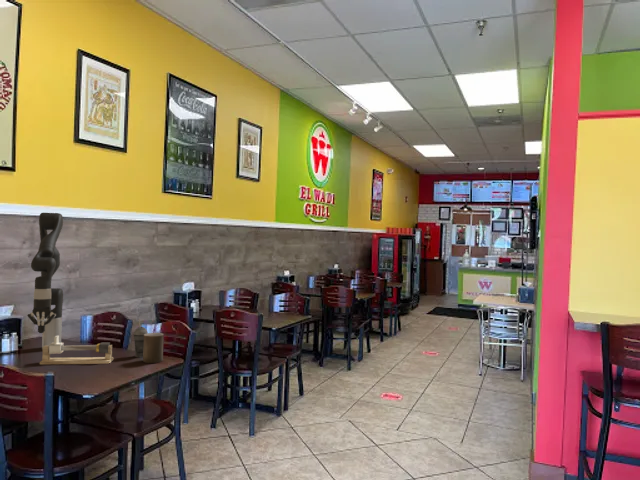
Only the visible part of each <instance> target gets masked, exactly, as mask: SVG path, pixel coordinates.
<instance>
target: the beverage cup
mask: <svg viewBox="0 0 640 480" xmlns="http://www.w3.org/2000/svg"><path fill="white" fill-rule="evenodd" d="M147 333H148V329H146V328H145V327H144V326H141V319H140V318H138V327H137V328H136V329H135V330H134V331H133V339H134V341H133V342H134V353H135V358H143V347H144V334H147Z"/></svg>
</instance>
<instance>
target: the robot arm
mask: <svg viewBox="0 0 640 480" xmlns="http://www.w3.org/2000/svg"><path fill="white" fill-rule="evenodd" d="M38 224H39V237H40V242H39V245H38V251H37V253H36V254H35V255H34V257H33V259H32V260H31V263H30V267H31V269H32V270H33V271H34V272H38V273H39V272H40V276H37V277H35V279H34V291H33V309H32V311H31V312H30V313H29V314H27V317H28V319H29V320H30V321H31V323H32V324H33V325H37V332H38V333H39V334H42V336H41V339H42V340H41V350H42V351H43V346H49V344H51V343H54V337H55V336H59V342H62V328H63V327H62V325H63V324H62V323H63V322H62V321H63V318H62V317H63V302H64V290H63V289H62V288H57V287H55V288H54V287H53V288H52V278H53V276H54V275H55V274H56V272H57V271H58V270H59V268H60V265H61V260H60V259H61V254H60V252H59V249H58V248H57V247H56V244H57V241H58V239H59V237H60V235H61V232H62V230H63V225H64V217H63V214H61V213H60V212H59V213H58V212H41V213H40V214H39V216H38ZM48 231H50V232H49V233H48ZM52 306H54V308H52Z"/></svg>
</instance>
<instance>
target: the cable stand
mask: <svg viewBox="0 0 640 480" xmlns="http://www.w3.org/2000/svg"><path fill="white" fill-rule="evenodd" d="M61 351H63V352H64V351H95V352H96V353H98V354H105V356H97V357H96V356H95V357H94V356H93V357H51V354H49V346H43V350H42V358H41V359H42V360H41V361H39V365H92V364H97V365H102V364H109V363H110V364H111V363H112V361H114V357H113V344H111V342H108V341H107V342H102V341H101V342H100V343H97V344H95V345H94V344H93V345H92V344H90V345H63V346H61Z"/></svg>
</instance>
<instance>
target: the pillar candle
mask: <svg viewBox="0 0 640 480" xmlns="http://www.w3.org/2000/svg"><path fill="white" fill-rule="evenodd" d="M161 361H162V362H163V361H164V333H162V332H149V333H147V334H144V347H143V357H142V362H143V363H145V364H146V363H147V364H157V362H158V363H161Z"/></svg>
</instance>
